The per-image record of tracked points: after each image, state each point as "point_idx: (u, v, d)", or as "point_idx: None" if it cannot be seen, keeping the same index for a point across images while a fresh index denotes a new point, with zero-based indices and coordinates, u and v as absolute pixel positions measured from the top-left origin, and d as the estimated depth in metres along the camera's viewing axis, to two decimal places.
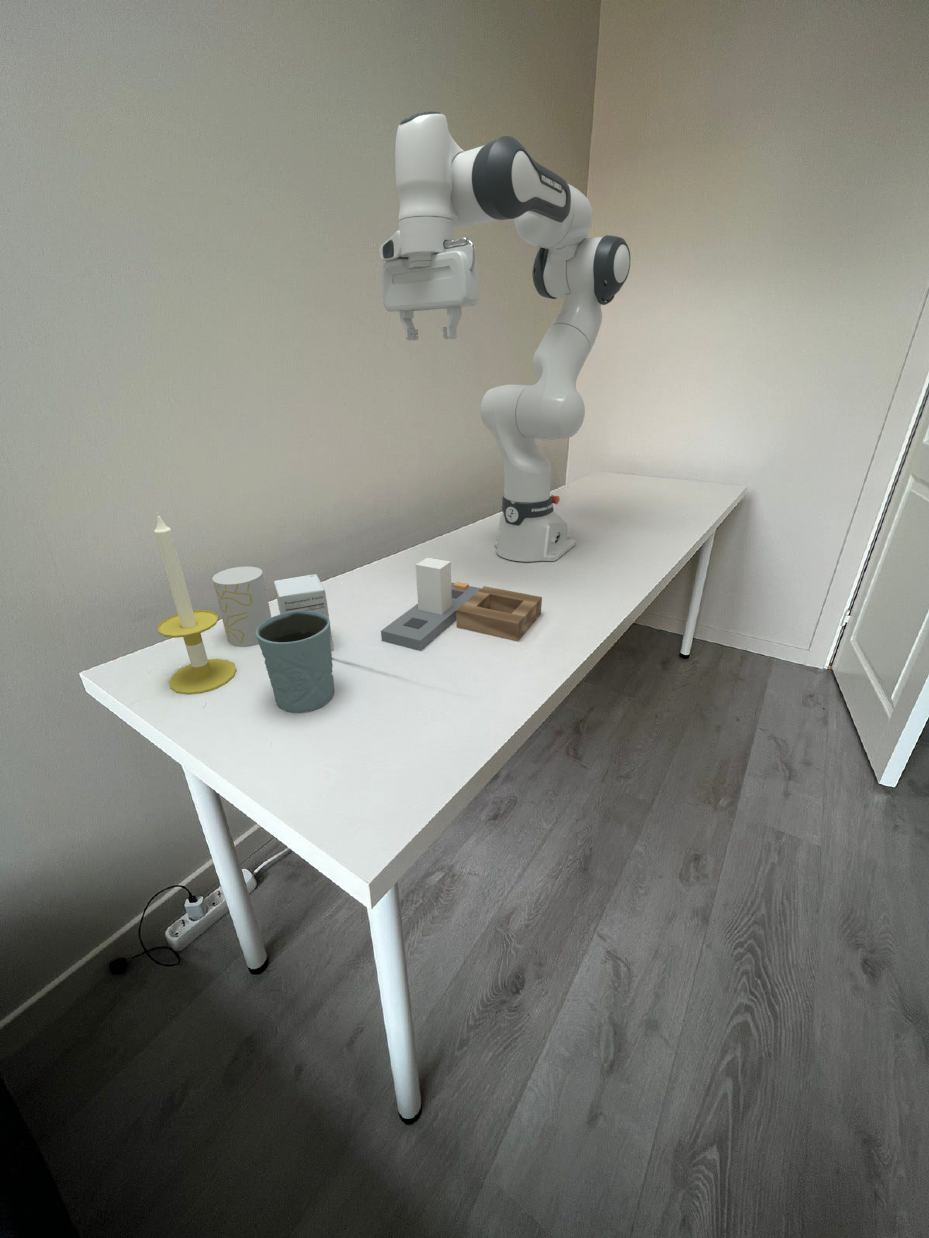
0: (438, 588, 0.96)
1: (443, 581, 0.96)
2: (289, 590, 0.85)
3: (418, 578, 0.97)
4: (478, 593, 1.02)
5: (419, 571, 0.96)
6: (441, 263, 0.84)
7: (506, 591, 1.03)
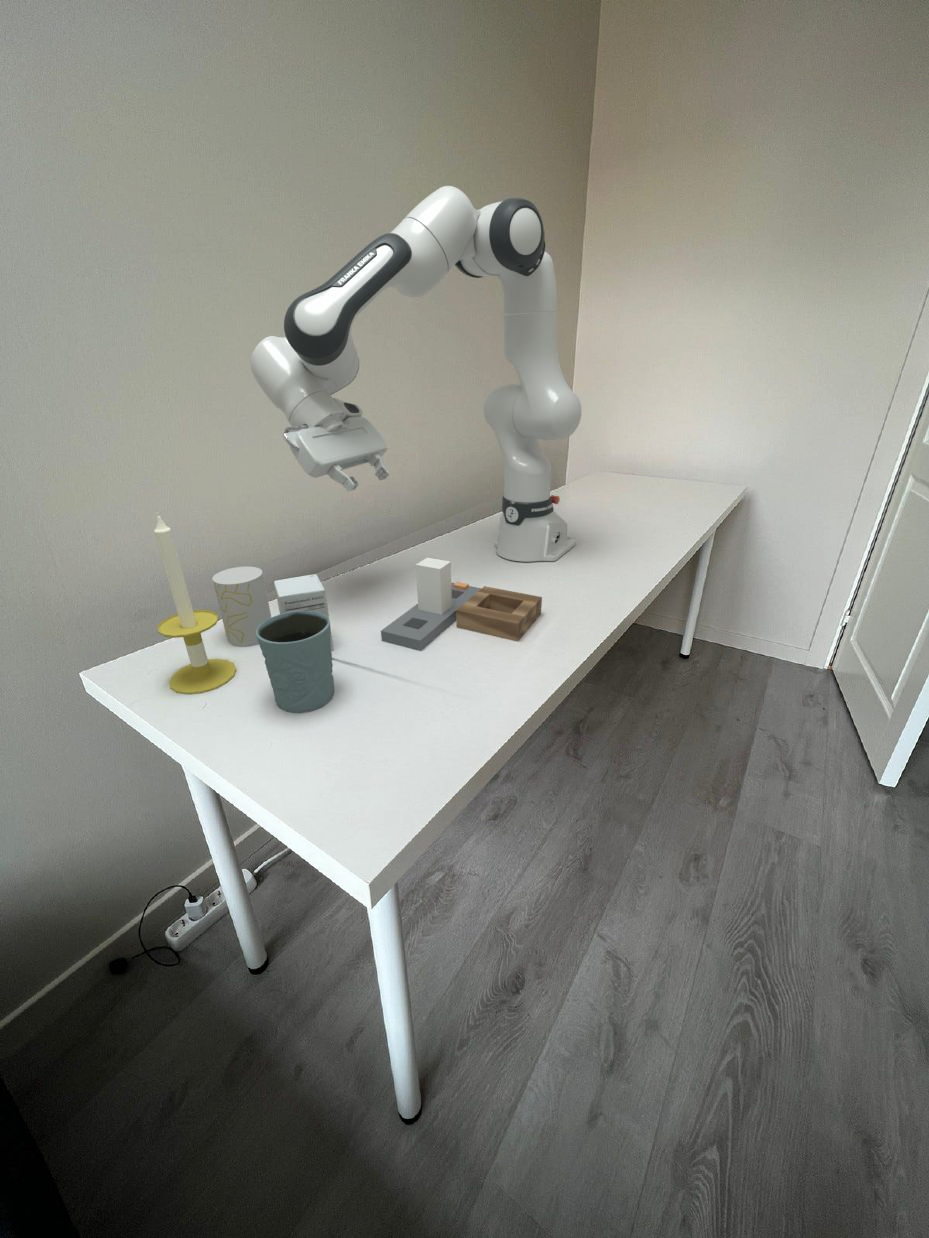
0: (438, 588, 0.96)
1: (443, 581, 0.96)
2: (289, 590, 0.85)
3: (418, 578, 0.97)
4: (478, 593, 1.02)
5: (419, 571, 0.96)
6: None
7: (506, 591, 1.03)
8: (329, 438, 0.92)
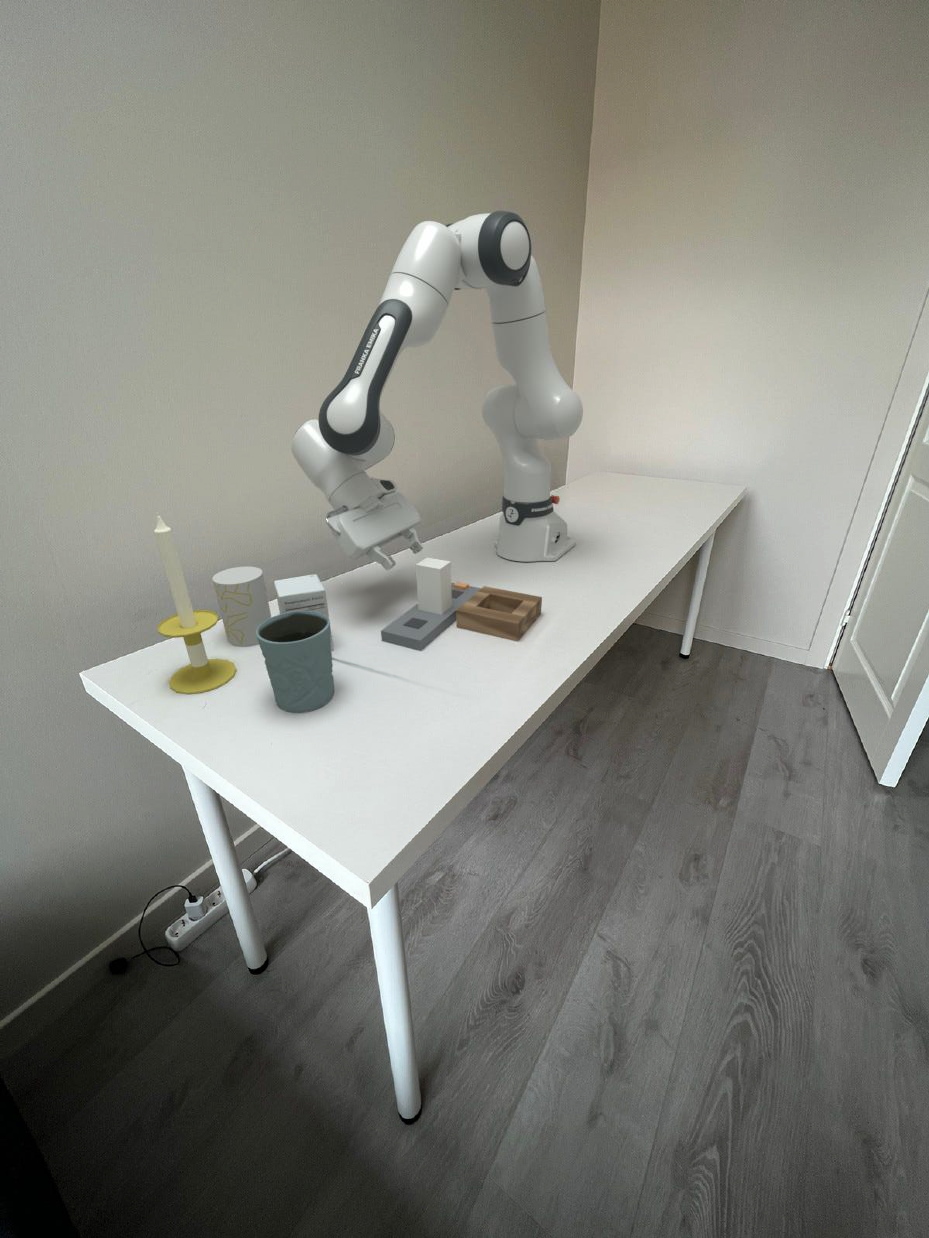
0: (438, 588, 0.96)
1: (443, 581, 0.96)
2: (289, 590, 0.85)
3: (418, 578, 0.97)
4: (478, 593, 1.02)
5: (419, 571, 0.96)
6: None
7: (506, 591, 1.03)
8: (367, 519, 0.95)
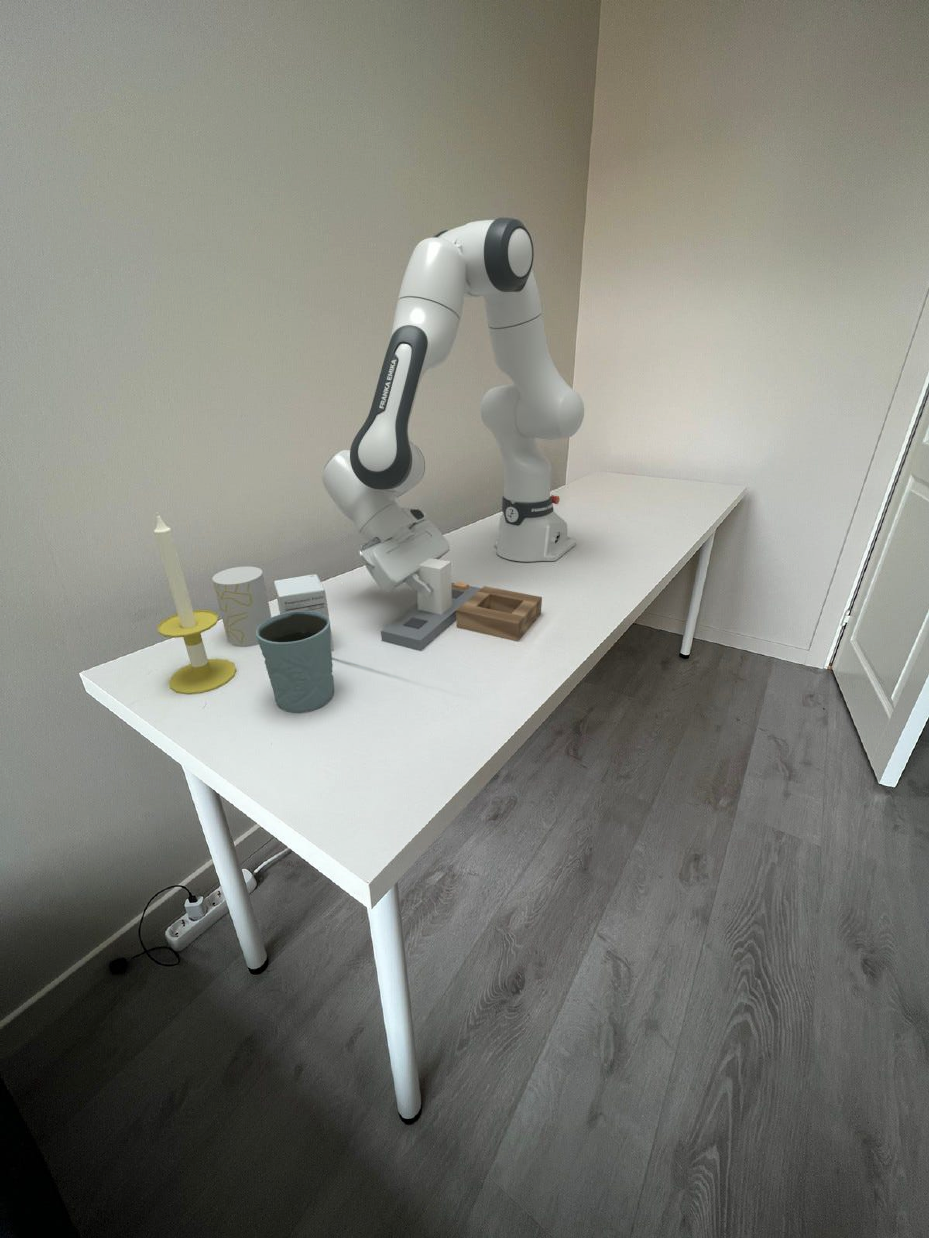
0: (438, 588, 0.96)
1: (443, 581, 0.96)
2: (289, 590, 0.85)
3: (418, 578, 0.97)
4: (478, 593, 1.02)
5: (419, 571, 0.96)
6: None
7: (506, 591, 1.03)
8: (399, 550, 0.95)
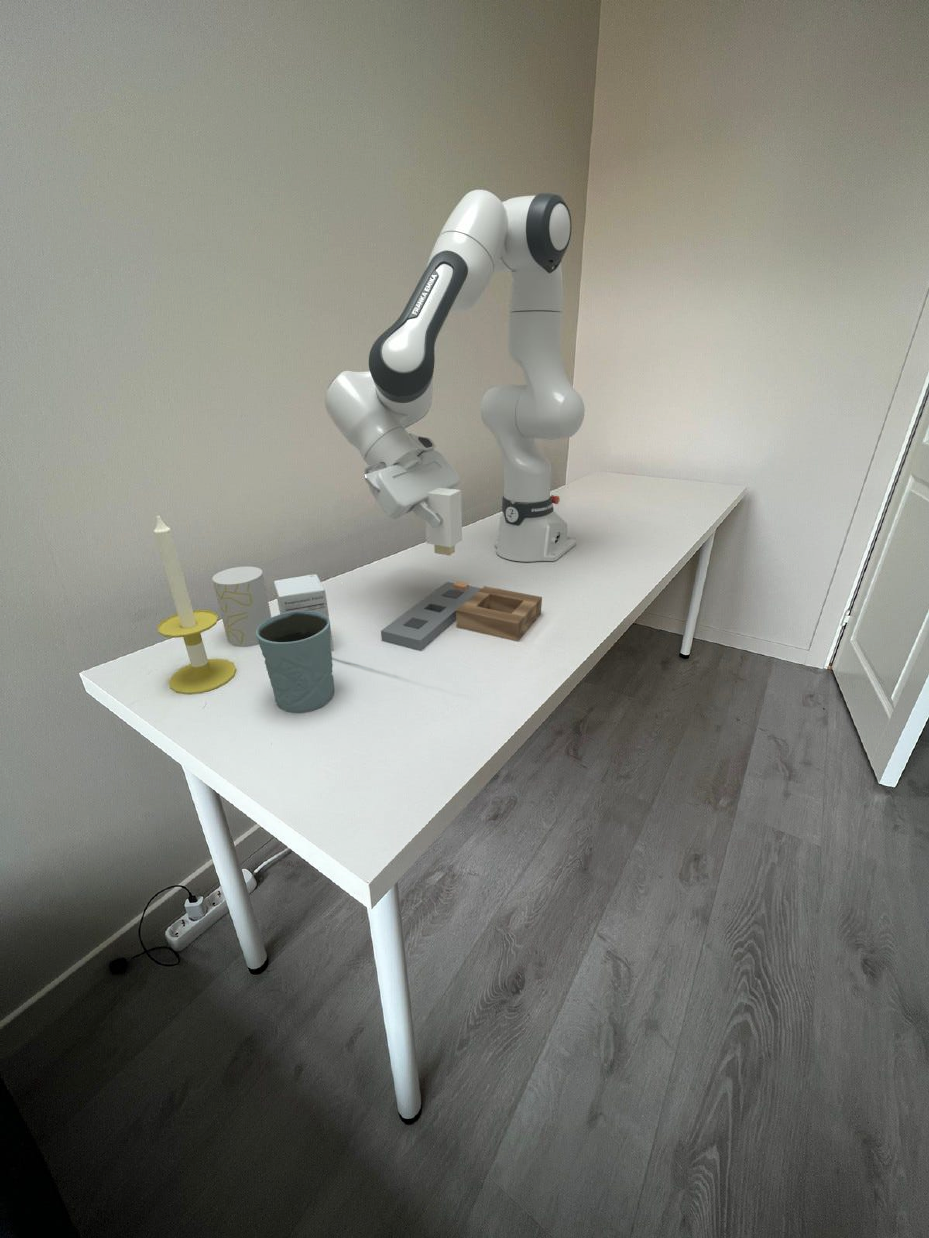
0: (448, 517, 0.90)
1: (453, 511, 0.90)
2: (289, 590, 0.85)
3: None
4: (478, 593, 1.02)
5: (427, 500, 0.90)
6: None
7: (506, 591, 1.03)
8: (407, 476, 0.89)
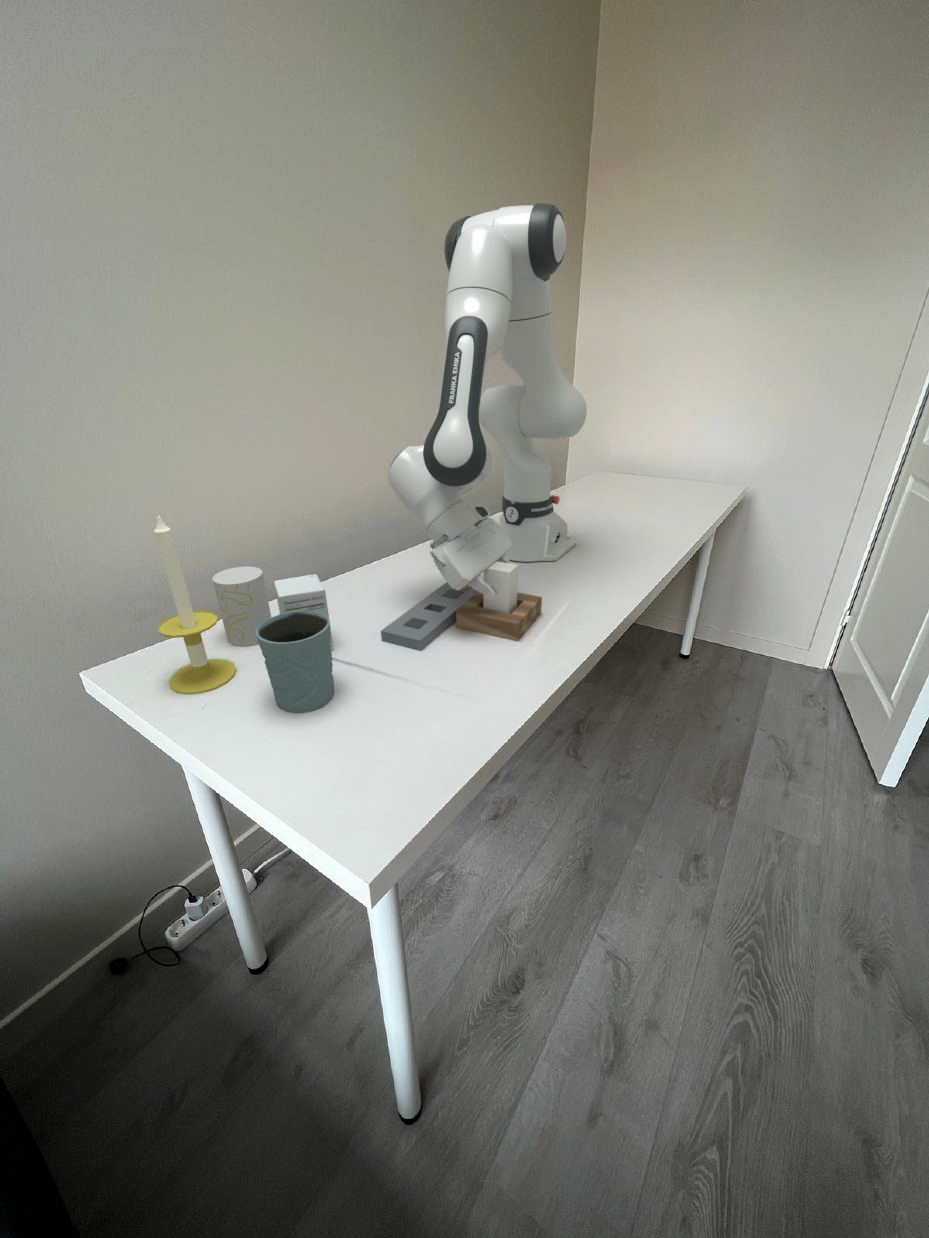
0: (506, 592, 0.94)
1: (511, 585, 0.95)
2: (289, 590, 0.85)
3: (485, 582, 0.96)
4: (478, 593, 1.02)
5: (487, 574, 0.95)
6: None
7: None
8: (468, 548, 0.93)
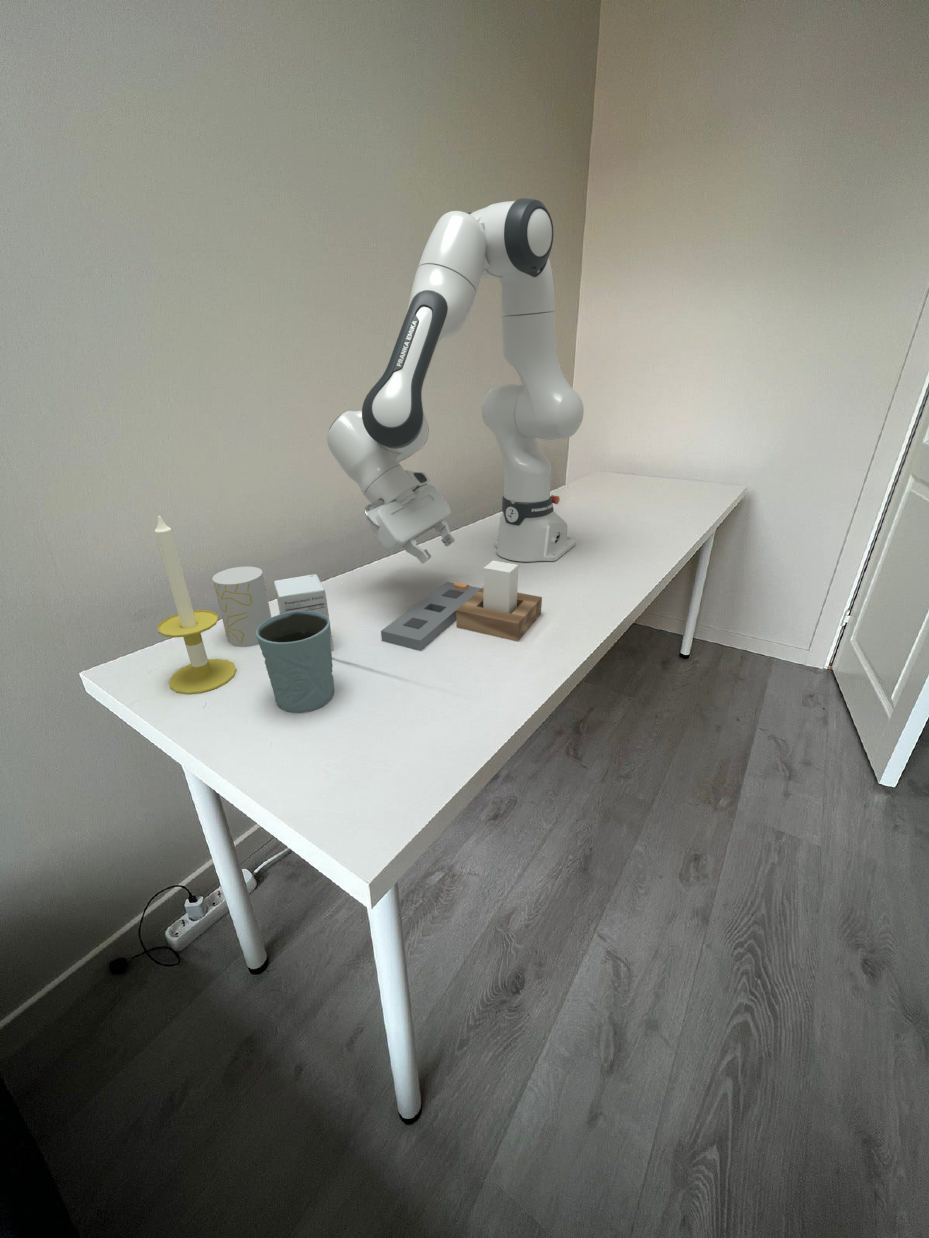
0: (506, 592, 0.94)
1: (511, 585, 0.95)
2: (289, 590, 0.85)
3: (485, 582, 0.96)
4: (478, 593, 1.02)
5: (487, 574, 0.95)
6: None
7: None
8: (404, 512, 0.96)
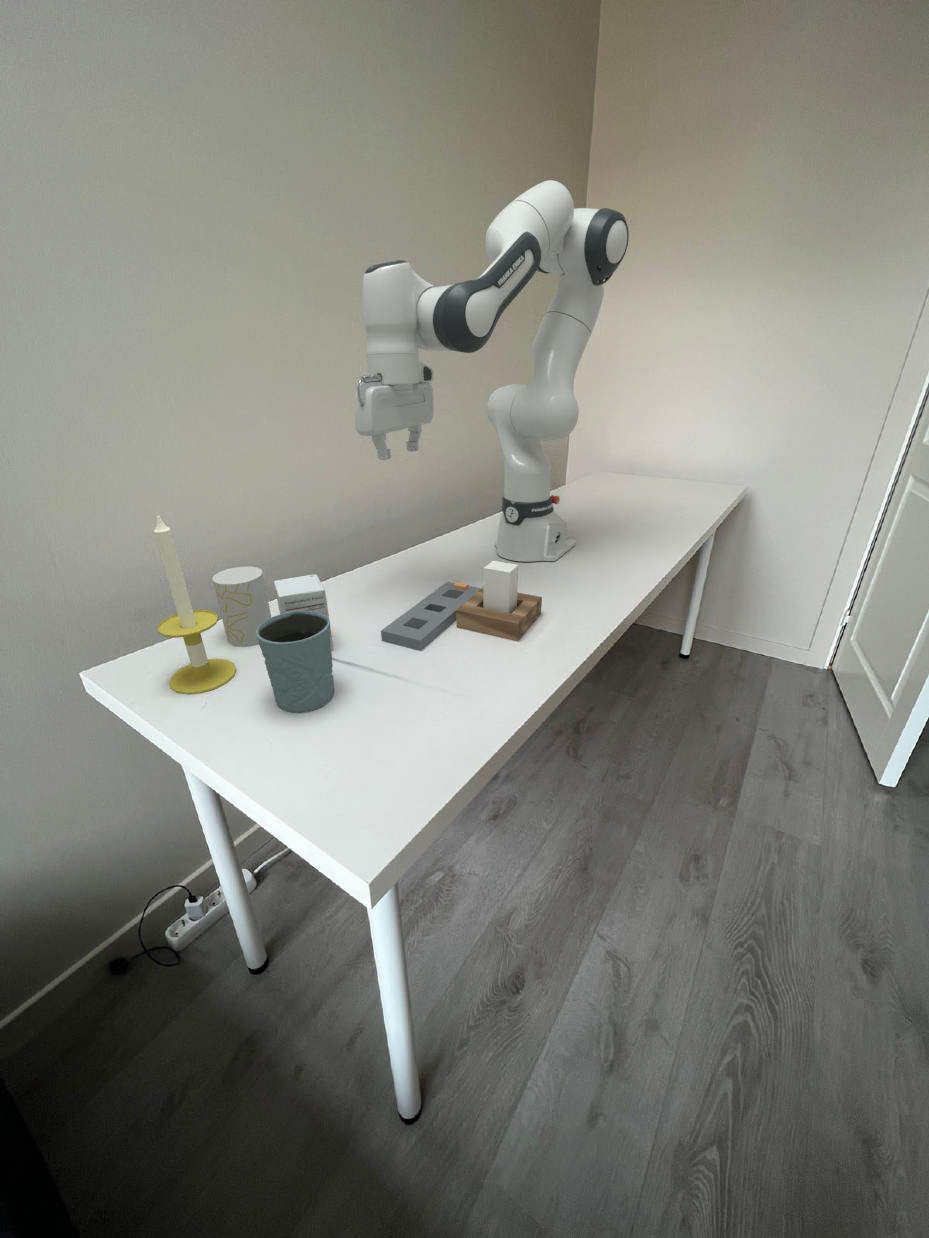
0: (506, 592, 0.94)
1: (511, 585, 0.95)
2: (289, 590, 0.85)
3: (485, 582, 0.96)
4: (478, 593, 1.02)
5: (487, 574, 0.95)
6: None
7: None
8: (392, 402, 0.91)
